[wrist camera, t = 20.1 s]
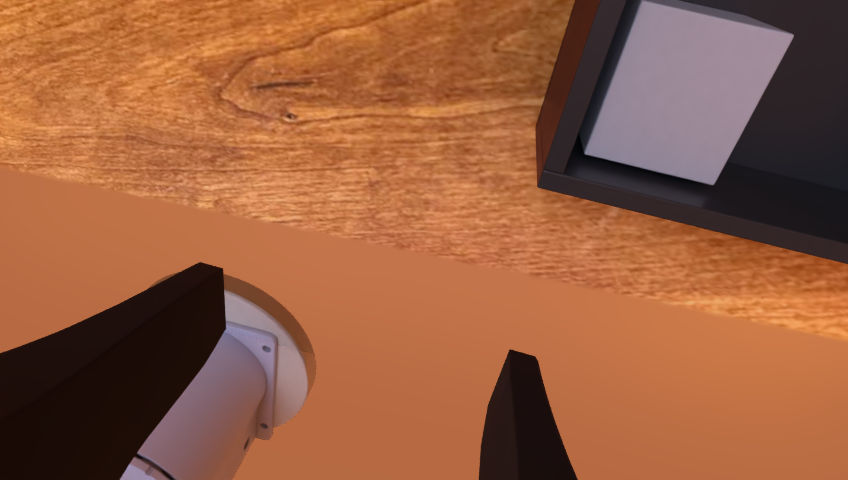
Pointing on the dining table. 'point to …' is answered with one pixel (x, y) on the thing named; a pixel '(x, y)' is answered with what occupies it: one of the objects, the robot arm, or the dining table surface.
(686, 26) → the cube
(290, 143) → the dining table surface
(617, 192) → the bin
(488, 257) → the dining table surface
